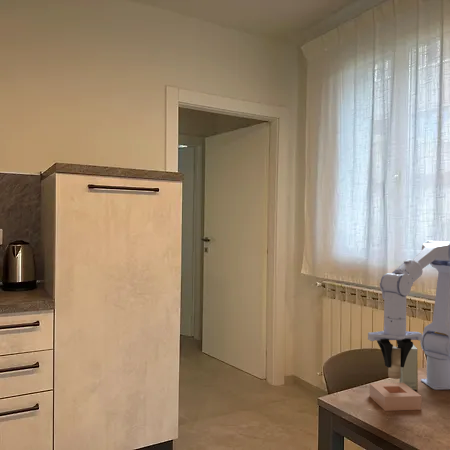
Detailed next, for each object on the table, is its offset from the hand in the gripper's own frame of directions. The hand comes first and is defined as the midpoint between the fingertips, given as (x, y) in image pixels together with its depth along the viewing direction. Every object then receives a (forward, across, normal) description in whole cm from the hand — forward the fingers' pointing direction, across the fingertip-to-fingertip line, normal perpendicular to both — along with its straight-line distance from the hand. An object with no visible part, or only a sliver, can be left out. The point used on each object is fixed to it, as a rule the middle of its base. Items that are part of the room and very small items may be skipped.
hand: (394, 366), depth 123 cm
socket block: (+10, 0, 0) cm, 10 cm away
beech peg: (+3, 0, 0) cm, 3 cm away
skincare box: (+10, +10, +12) cm, 18 cm away
